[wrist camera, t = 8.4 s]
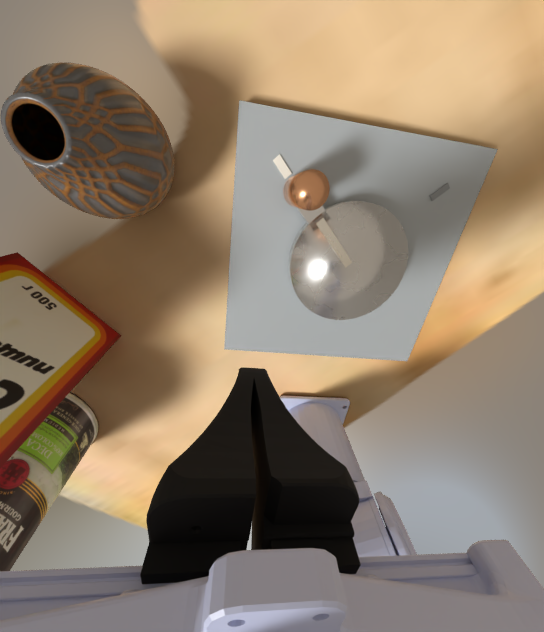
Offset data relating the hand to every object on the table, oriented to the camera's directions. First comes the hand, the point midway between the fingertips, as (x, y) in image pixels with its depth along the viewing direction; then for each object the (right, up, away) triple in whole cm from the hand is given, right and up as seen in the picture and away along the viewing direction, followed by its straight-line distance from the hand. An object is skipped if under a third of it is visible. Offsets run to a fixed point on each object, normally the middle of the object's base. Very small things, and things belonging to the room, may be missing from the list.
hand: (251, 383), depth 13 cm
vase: (-8, +14, +4) cm, 17 cm away
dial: (+6, +9, +6) cm, 12 cm away
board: (+7, +8, +8) cm, 13 cm away
